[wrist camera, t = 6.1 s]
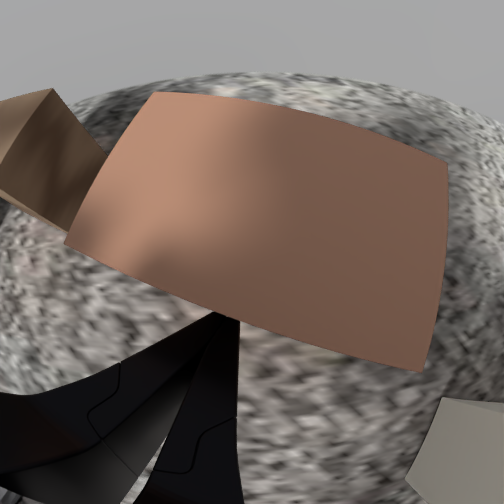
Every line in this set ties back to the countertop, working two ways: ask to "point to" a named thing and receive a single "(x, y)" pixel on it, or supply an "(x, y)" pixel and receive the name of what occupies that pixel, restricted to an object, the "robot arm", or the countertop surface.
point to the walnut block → (46, 158)
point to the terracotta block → (276, 222)
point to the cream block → (462, 455)
